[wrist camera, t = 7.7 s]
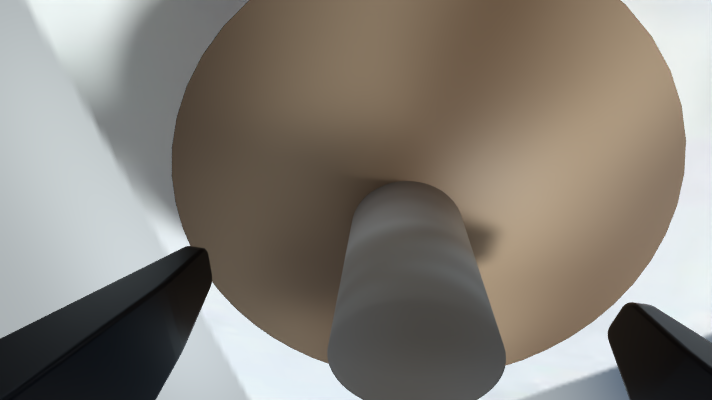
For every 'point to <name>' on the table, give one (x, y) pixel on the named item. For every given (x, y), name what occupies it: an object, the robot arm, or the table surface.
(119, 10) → the table surface
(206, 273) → the robot arm
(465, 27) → the lid
